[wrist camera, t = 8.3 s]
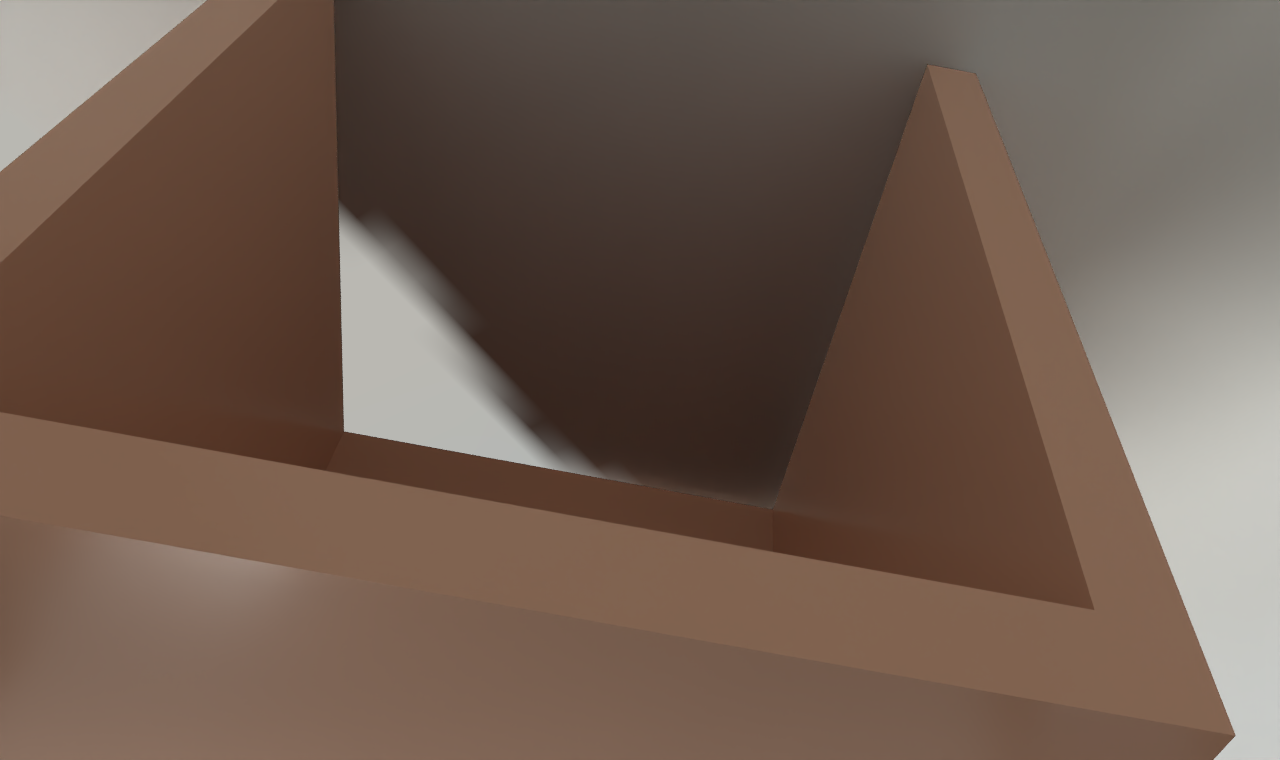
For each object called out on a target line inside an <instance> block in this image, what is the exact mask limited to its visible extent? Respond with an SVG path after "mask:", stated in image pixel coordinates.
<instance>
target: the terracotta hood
mask: <svg viewBox="0 0 1280 760" xmlns="http://www.w3.org/2000/svg"><path fill="white" fill-rule="evenodd" d="M340 290H341V289H340V247H339V204H338V162H337V120H336V77H335V35H334V0H207V1H206V2H205V3H203V4H202V5H201V6H200V7H199V8H197V9H196V10H195V11H194V12H193V13H191V14H190V15H189V16H188V17H187V18H185V19H184V20H183V21H182V22H181V23H179V24H178V25H177V26H176V27H174V28H173V29H172V30H171V31H170V32H168V33H167V34H166V35H165V36H164V37H162V38H161V39H160V40H159V41H158V42H156V43H155V44H154V45H153V46H152V47H150V48H149V49H148V50H147V51H146V52H144V53H143V54H142V55H141V56H139V57H138V58H137V59H136V60H135V61H133V62H132V63H131V64H130V65H129V66H127V67H126V68H125V69H124V70H123V71H121V72H120V73H119V74H118V75H117V76H115V77H114V78H113V79H112V80H111V81H109V82H108V83H107V84H106V85H104V86H103V87H102V88H101V89H100V90H98V91H97V92H96V93H95V94H94V95H92V96H91V97H90V98H89V99H88V100H86V101H85V102H84V103H83V104H82V105H80V106H79V107H78V108H77V109H76V110H74V111H73V112H72V113H71V114H70V115H68V116H67V117H66V118H65V119H63V120H62V121H61V122H60V123H59V124H57V125H56V126H55V127H54V128H53V129H51V130H50V131H49V132H48V133H47V134H45V135H44V136H43V137H42V138H41V139H39V140H38V141H37V142H36V143H35V144H33V145H32V146H31V147H30V148H29V149H27V150H26V151H25V152H24V153H22V154H21V155H20V156H19V157H18V158H16V159H15V160H14V161H13V162H12V163H10V164H9V165H8V166H7V167H6V168H4V169H3V170H2V171H1V172H0V760H1213V759H1214V758H1215V757H1216V756H1217V755H1218V754H1219V753H1220V752H1221V751H1222V750H1223V749H1224V747H1225V746H1226V745H1227V744H1228V743H1229V742H1230V741H1231V740H1232V739H1233V738H1234V737H1235V733H1234V730H1233V728H1232V725H1231V723H1230V720H1229V718H1228V715H1227V713H1226V710H1225V708H1224V705H1223V702H1222V700H1221V697H1220V695H1219V692H1218V690H1217V687H1216V685H1215V682H1214V679H1213V677H1212V674H1211V672H1210V669H1209V667H1208V664H1207V662H1206V659H1205V657H1204V654H1203V651H1202V649H1201V646H1200V644H1199V641H1198V639H1197V636H1196V634H1195V631H1194V628H1193V626H1192V623H1191V621H1190V618H1189V616H1188V613H1187V611H1186V608H1185V606H1184V603H1183V600H1182V598H1181V595H1180V593H1179V590H1178V588H1177V585H1176V583H1175V580H1174V577H1173V575H1172V572H1171V570H1170V567H1169V565H1168V562H1167V560H1166V557H1165V555H1164V552H1163V549H1162V547H1161V544H1160V542H1159V539H1158V537H1157V534H1156V532H1155V529H1154V526H1153V524H1152V521H1151V519H1150V516H1149V514H1148V511H1147V509H1146V506H1145V504H1144V501H1143V498H1142V496H1141V493H1140V491H1139V488H1138V486H1137V483H1136V481H1135V478H1134V475H1133V473H1132V470H1131V468H1130V465H1129V463H1128V460H1127V458H1126V455H1125V453H1124V450H1123V447H1122V445H1121V442H1120V440H1119V437H1118V435H1117V432H1116V430H1115V427H1114V424H1113V422H1112V419H1111V417H1110V414H1109V412H1108V409H1107V407H1106V404H1105V401H1104V399H1103V396H1102V394H1101V391H1100V389H1099V386H1098V384H1097V381H1096V379H1095V376H1094V373H1093V371H1092V368H1091V366H1090V363H1089V361H1088V358H1087V356H1086V353H1085V350H1084V348H1083V345H1082V343H1081V340H1080V338H1079V335H1078V333H1077V330H1076V328H1075V325H1074V322H1073V320H1072V317H1071V315H1070V312H1069V310H1068V307H1067V305H1066V302H1065V299H1064V297H1063V294H1062V292H1061V289H1060V287H1059V284H1058V282H1057V279H1056V277H1055V274H1054V271H1053V269H1052V266H1051V264H1050V261H1049V259H1048V256H1047V254H1046V251H1045V248H1044V246H1043V243H1042V241H1041V238H1040V236H1039V233H1038V231H1037V228H1036V226H1035V223H1034V220H1033V218H1032V215H1031V213H1030V210H1029V208H1028V205H1027V203H1026V200H1025V197H1024V195H1023V192H1022V190H1021V187H1020V185H1019V182H1018V180H1017V177H1016V175H1015V172H1014V169H1013V167H1012V164H1011V162H1010V159H1009V157H1008V154H1007V152H1006V149H1005V146H1004V144H1003V141H1002V139H1001V136H1000V134H999V131H998V129H997V126H996V124H995V121H994V118H993V116H992V113H991V111H990V108H989V106H988V103H987V101H986V98H985V95H984V93H983V90H982V88H981V85H980V83H979V80H978V78H977V75H976V74H975V73H970V72H965V71H960V70H954V69H949V68H944V67H939V66H934V65H929V64H927V66H926V69H925V72H924V75H923V78H922V81H921V84H920V87H919V89H918V92H917V95H916V98H915V101H914V104H913V107H912V110H911V112H910V115H909V118H908V121H907V124H906V127H905V130H904V133H903V136H902V138H901V141H900V144H899V147H898V150H897V153H896V156H895V159H894V161H893V164H892V167H891V170H890V173H889V176H888V179H887V182H886V185H885V187H884V190H883V193H882V196H881V199H880V202H879V205H878V208H877V210H876V213H875V216H874V219H873V222H872V225H871V228H870V231H869V233H868V236H867V239H866V242H865V245H864V248H863V251H862V254H861V257H860V259H859V262H858V265H857V268H856V271H855V274H854V277H853V280H852V282H851V285H850V288H849V291H848V294H847V297H846V300H845V303H844V305H843V308H842V311H841V314H840V317H839V320H838V323H837V326H836V329H835V331H834V334H833V337H832V340H831V343H830V346H829V349H828V352H827V354H826V357H825V360H824V363H823V366H822V369H821V372H820V375H819V378H818V380H817V383H816V386H815V389H814V392H813V395H812V398H811V401H810V403H809V406H808V409H807V412H806V415H805V418H804V421H803V424H802V426H801V429H800V432H799V435H798V438H797V441H796V444H795V447H794V450H793V452H792V455H791V458H790V461H789V464H788V467H787V470H786V473H785V475H784V478H783V481H782V484H781V487H780V490H779V493H778V496H777V498H776V501H775V504H774V507H773V510H772V509H767V508H761V507H756V506H750V505H745V504H739V503H734V502H728V501H723V500H717V499H712V498H706V497H701V496H695V495H690V494H684V493H679V492H673V491H668V490H662V489H657V488H651V487H646V486H640V485H635V484H629V483H624V482H618V481H613V480H607V479H602V478H596V477H591V476H585V475H580V474H574V473H569V472H563V471H558V470H552V469H547V468H541V467H536V466H530V465H525V464H520V463H514V462H509V461H503V460H497V459H491V458H486V457H481V456H476V455H470V454H465V453H459V452H454V451H447V450H442V449H437V448H432V447H426V446H421V445H415V444H410V443H404V442H399V441H393V440H388V439H382V438H377V437H371V436H366V435H360V434H355V433H349V432H344V419H343V376H342V334H341V291H340Z"/></svg>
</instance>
